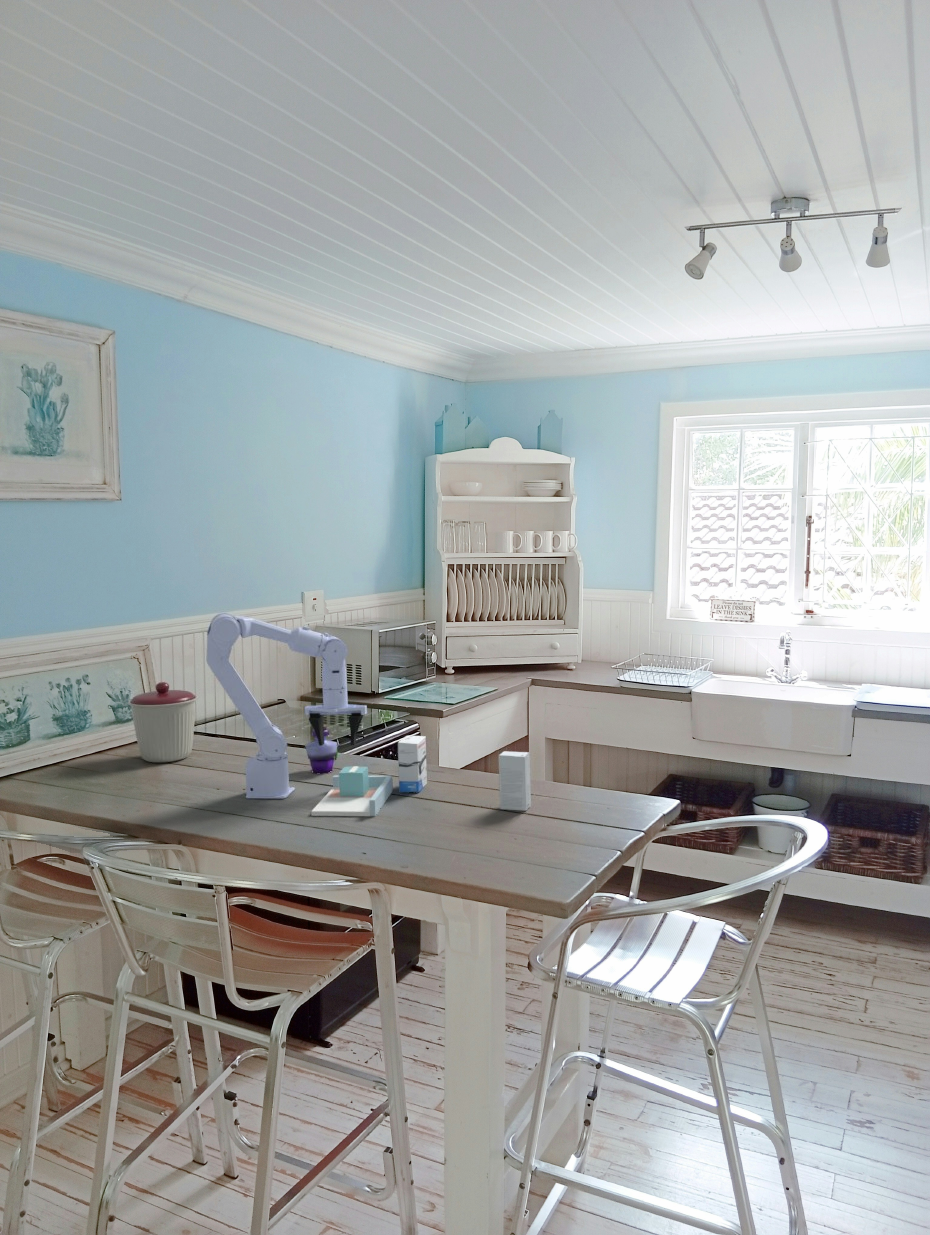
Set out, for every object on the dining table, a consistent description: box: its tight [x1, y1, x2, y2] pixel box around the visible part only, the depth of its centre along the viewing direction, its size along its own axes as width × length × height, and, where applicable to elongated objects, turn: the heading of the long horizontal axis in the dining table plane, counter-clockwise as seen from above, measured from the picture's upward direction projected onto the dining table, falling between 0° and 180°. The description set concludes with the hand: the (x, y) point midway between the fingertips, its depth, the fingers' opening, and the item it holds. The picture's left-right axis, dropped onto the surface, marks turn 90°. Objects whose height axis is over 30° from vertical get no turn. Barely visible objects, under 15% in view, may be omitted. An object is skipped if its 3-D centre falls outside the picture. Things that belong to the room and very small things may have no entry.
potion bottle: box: [305, 723, 339, 775], centre depth 245 cm, size 9×9×12 cm
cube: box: [338, 765, 369, 797], centre depth 221 cm, size 6×6×6 cm
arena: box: [310, 774, 394, 817], centre depth 217 cm, size 14×20×4 cm
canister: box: [127, 681, 199, 764], centre depth 263 cm, size 18×18×21 cm
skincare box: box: [497, 750, 532, 812], centre depth 210 cm, size 6×4×12 cm
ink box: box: [397, 735, 428, 794], centre depth 227 cm, size 8×5×12 cm, turn 168°
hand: (337, 744), depth 229 cm, fingers open, 7 cm apart
